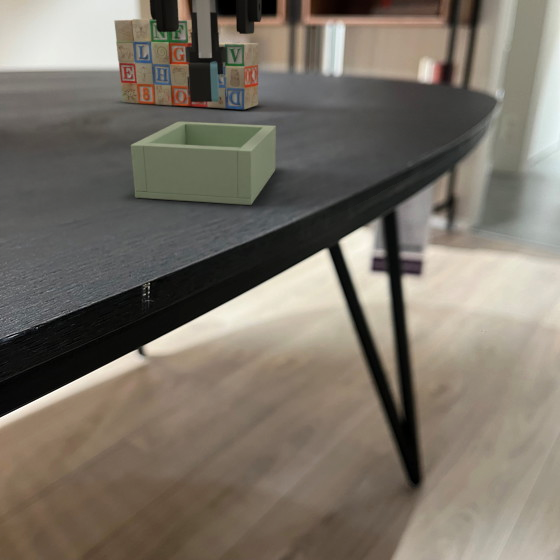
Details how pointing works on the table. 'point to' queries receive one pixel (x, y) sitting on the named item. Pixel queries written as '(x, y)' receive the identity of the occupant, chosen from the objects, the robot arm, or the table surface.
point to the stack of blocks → (179, 67)
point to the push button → (204, 54)
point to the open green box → (205, 162)
